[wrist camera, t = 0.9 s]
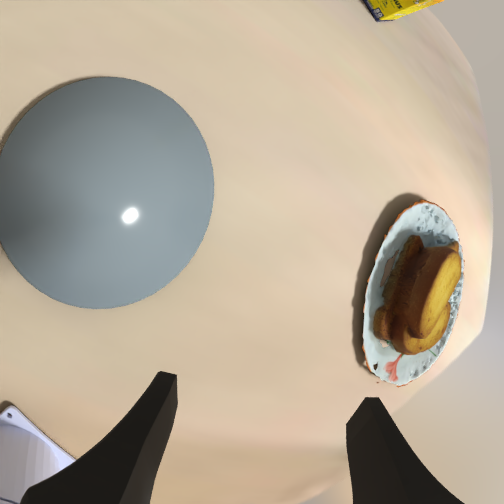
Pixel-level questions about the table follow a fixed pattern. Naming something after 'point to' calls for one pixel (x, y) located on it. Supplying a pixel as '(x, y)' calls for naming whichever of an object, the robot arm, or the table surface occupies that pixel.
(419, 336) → the food on plate
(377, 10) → the supplement box
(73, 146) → the slate dish
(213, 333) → the table surface
